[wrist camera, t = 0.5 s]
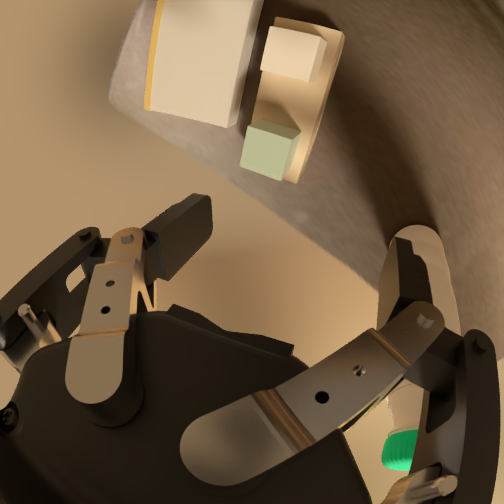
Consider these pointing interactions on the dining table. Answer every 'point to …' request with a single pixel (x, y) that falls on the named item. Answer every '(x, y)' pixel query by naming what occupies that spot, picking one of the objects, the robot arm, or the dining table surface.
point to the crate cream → (293, 54)
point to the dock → (201, 58)
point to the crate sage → (269, 148)
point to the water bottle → (407, 393)
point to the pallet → (299, 94)
